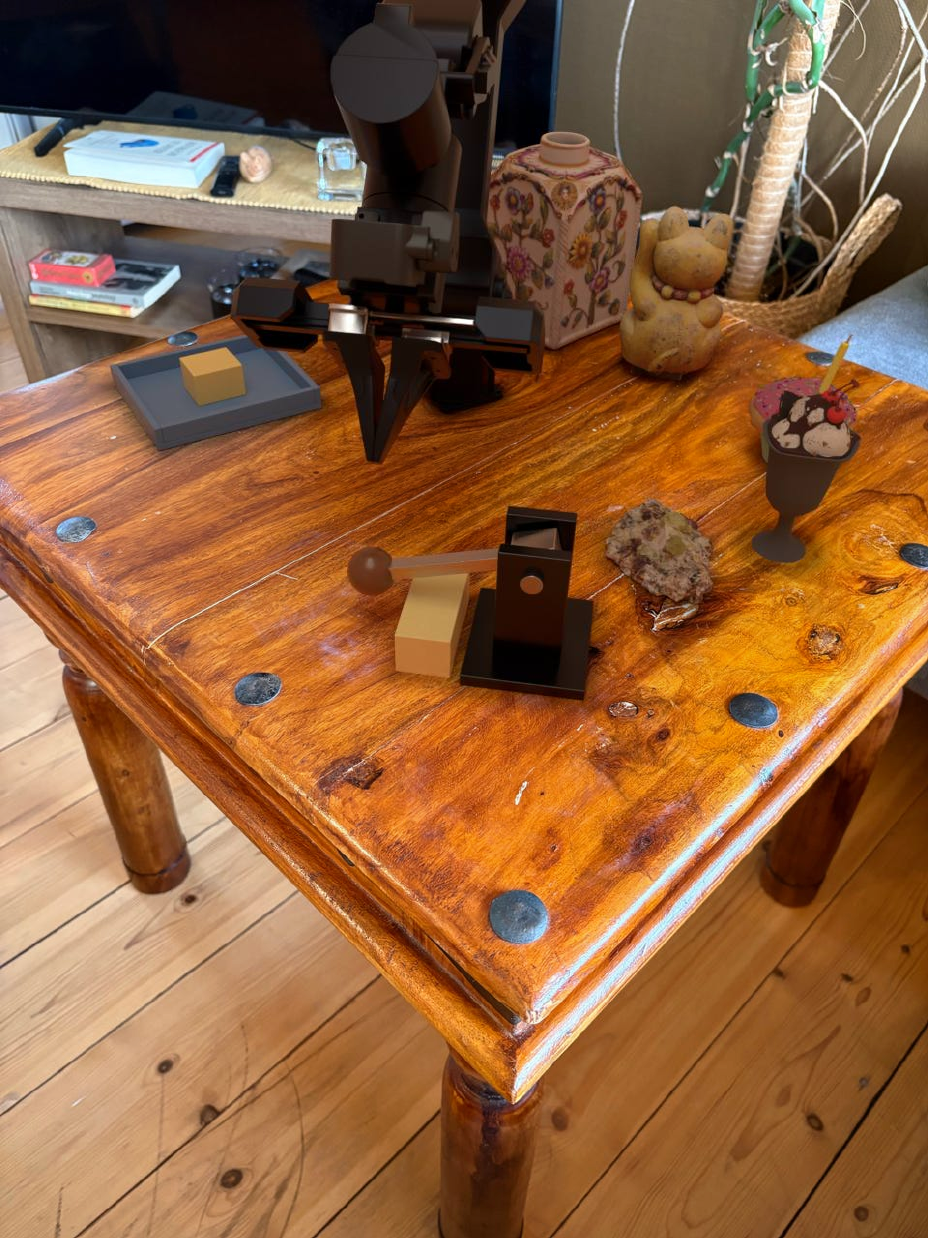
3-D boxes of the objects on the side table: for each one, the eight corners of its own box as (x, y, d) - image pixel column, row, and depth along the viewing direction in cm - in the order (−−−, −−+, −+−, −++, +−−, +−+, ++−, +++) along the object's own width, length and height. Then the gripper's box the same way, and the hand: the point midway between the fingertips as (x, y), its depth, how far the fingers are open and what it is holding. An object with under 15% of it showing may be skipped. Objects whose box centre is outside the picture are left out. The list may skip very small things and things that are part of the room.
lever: (350, 607, 65) (334, 569, 63) (361, 577, 67) (347, 539, 65) (561, 589, 61) (551, 548, 59) (565, 558, 63) (556, 517, 61)
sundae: (826, 582, 73) (888, 399, 63) (733, 569, 74) (779, 387, 64) (820, 530, 78) (877, 353, 68) (733, 519, 79) (776, 342, 69)
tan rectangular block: (419, 597, 71) (418, 558, 68) (469, 603, 70) (470, 564, 68) (395, 674, 65) (394, 635, 62) (450, 681, 64) (450, 642, 62)
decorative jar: (473, 314, 106) (478, 134, 94) (549, 286, 112) (562, 112, 100) (555, 354, 99) (571, 165, 87) (630, 321, 105) (655, 140, 94)
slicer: (459, 688, 64) (462, 569, 57) (479, 599, 71) (484, 484, 64) (583, 704, 63) (600, 585, 57) (592, 613, 70) (608, 497, 63)
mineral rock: (584, 505, 75) (683, 469, 75) (592, 546, 79) (687, 512, 79) (635, 598, 68) (745, 558, 68) (642, 639, 71) (747, 601, 71)
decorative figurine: (713, 355, 100) (744, 202, 90) (714, 395, 94) (748, 236, 84) (617, 346, 101) (637, 194, 91) (612, 385, 95) (633, 226, 85)
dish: (266, 349, 99) (263, 329, 97) (321, 408, 90) (320, 387, 89) (114, 385, 93) (109, 364, 91) (158, 451, 84) (154, 429, 83)
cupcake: (847, 448, 87) (888, 318, 79) (831, 497, 81) (874, 362, 73) (750, 425, 90) (780, 297, 82) (727, 471, 84) (758, 338, 76)
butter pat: (230, 376, 93) (226, 346, 91) (246, 394, 91) (242, 364, 89) (184, 387, 92) (178, 357, 90) (199, 406, 89) (193, 376, 87)
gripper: (217, 133, 54) (177, 412, 54) (556, 157, 52) (520, 447, 52) (275, 226, 65) (243, 458, 65) (557, 249, 63) (527, 489, 63)
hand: (374, 463), depth 61 cm, fingers closed
